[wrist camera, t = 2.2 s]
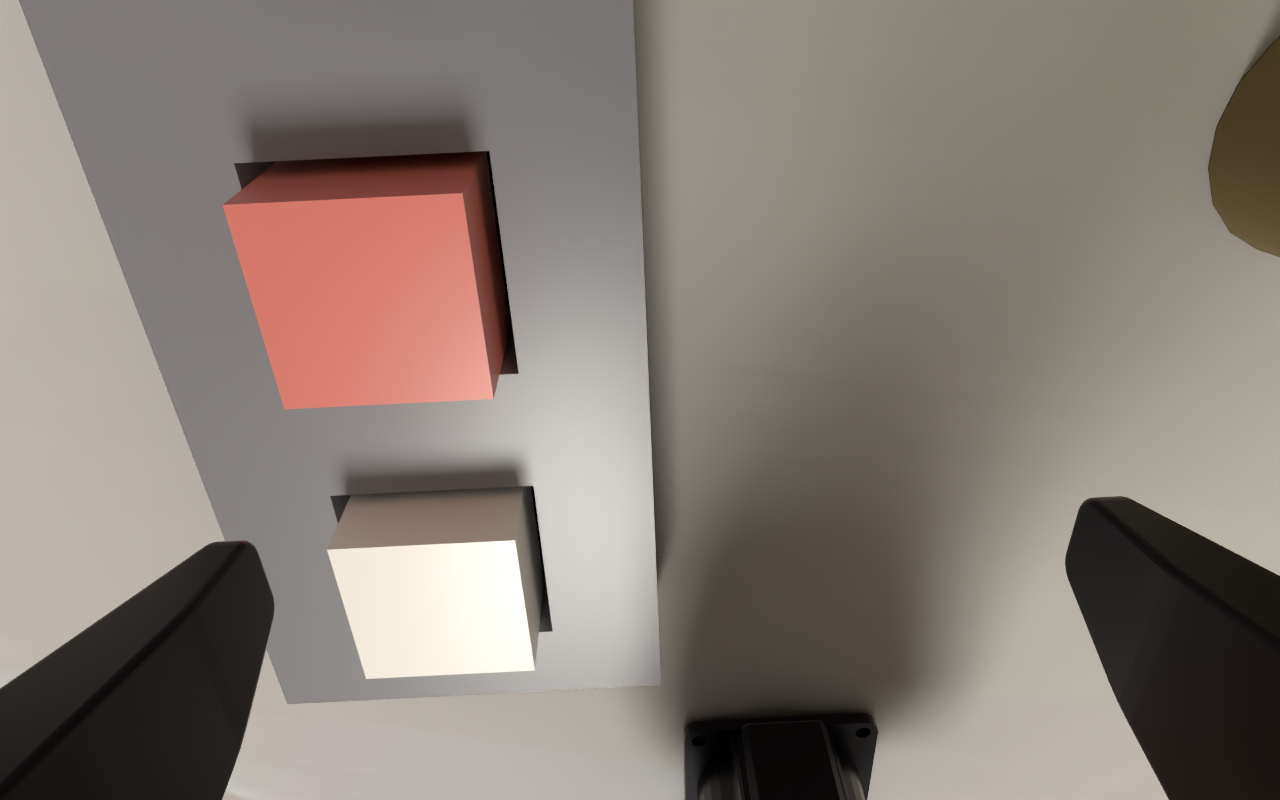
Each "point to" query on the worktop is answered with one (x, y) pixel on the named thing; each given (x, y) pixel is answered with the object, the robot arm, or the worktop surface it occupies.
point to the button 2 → (441, 581)
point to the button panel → (410, 432)
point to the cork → (1251, 157)
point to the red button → (375, 278)
